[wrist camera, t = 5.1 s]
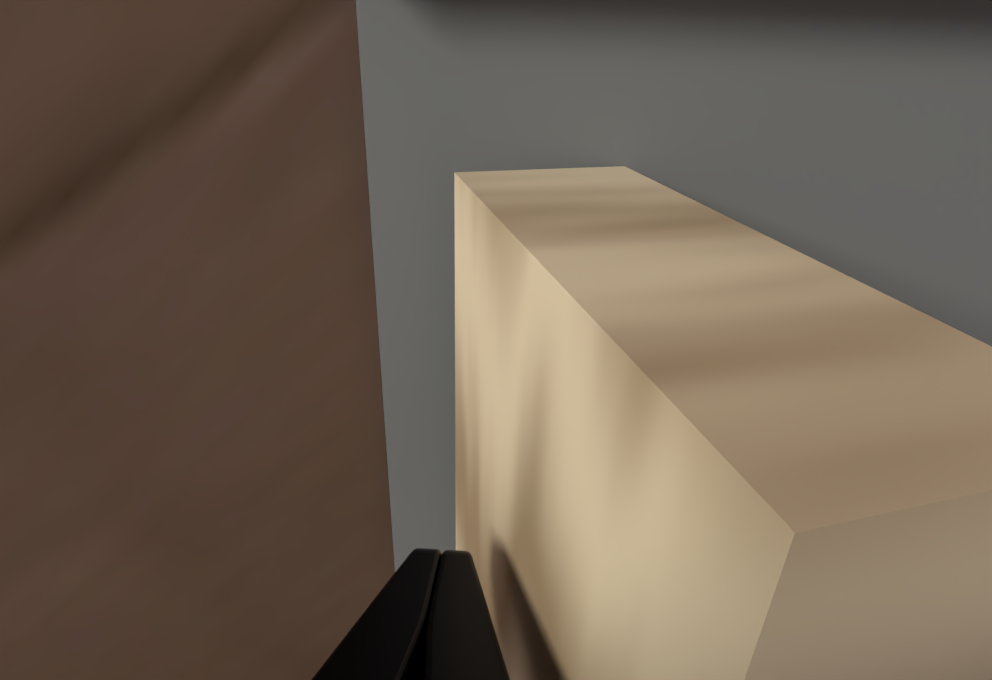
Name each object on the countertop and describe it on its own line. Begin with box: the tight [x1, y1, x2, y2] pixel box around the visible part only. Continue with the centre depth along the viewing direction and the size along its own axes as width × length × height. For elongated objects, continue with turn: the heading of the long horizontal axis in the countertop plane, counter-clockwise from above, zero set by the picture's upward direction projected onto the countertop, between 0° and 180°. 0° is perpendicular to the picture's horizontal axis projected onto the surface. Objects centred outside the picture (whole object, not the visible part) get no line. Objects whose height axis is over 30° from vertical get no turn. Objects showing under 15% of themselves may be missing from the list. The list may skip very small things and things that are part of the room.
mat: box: [356, 0, 992, 572], centre depth 13 cm, size 19×18×2 cm
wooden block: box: [454, 166, 992, 680], centre depth 9 cm, size 10×3×8 cm, turn 178°
